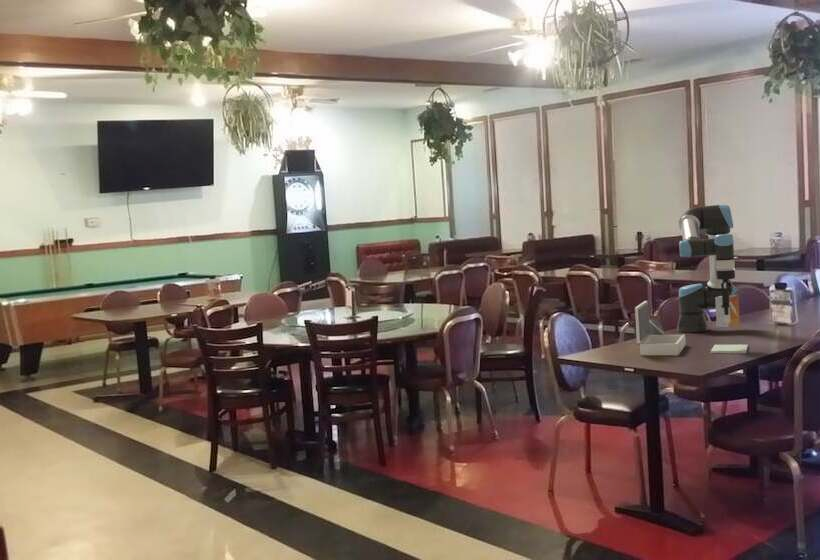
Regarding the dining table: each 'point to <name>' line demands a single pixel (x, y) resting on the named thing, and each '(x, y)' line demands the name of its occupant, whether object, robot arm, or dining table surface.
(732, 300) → the small box
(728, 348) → the sage mat
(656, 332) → the coffee pot
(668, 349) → the equipment case
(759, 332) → the dining table surface
